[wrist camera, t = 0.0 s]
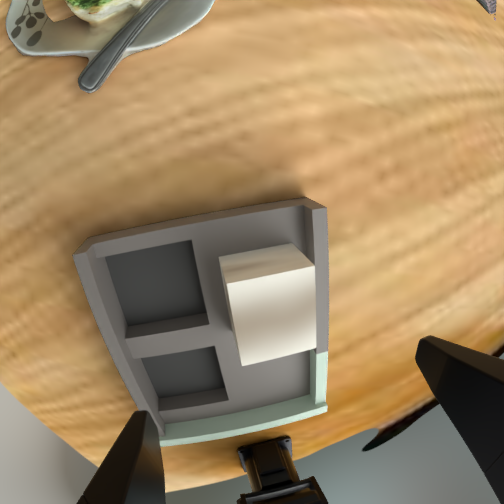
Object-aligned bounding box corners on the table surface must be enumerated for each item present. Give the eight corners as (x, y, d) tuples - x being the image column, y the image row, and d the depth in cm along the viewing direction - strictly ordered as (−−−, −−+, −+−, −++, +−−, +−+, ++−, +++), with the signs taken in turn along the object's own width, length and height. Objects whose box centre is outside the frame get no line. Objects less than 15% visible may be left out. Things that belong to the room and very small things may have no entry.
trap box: (312, 384, 29) (326, 411, 25) (158, 416, 27) (158, 446, 23) (306, 197, 22) (330, 209, 18) (87, 237, 20) (69, 258, 16)
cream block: (296, 316, 23) (316, 347, 19) (232, 331, 22) (241, 366, 19) (291, 242, 21) (314, 265, 17) (218, 256, 20) (226, 283, 16)
